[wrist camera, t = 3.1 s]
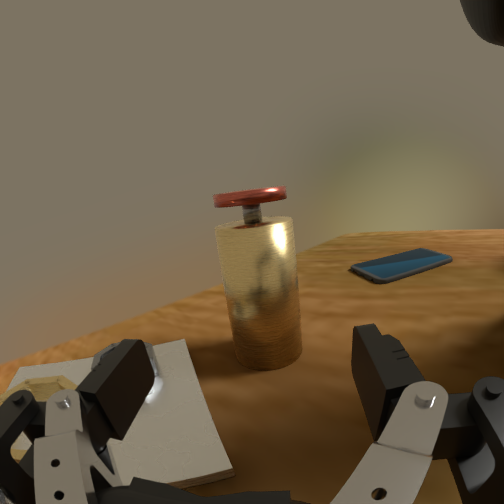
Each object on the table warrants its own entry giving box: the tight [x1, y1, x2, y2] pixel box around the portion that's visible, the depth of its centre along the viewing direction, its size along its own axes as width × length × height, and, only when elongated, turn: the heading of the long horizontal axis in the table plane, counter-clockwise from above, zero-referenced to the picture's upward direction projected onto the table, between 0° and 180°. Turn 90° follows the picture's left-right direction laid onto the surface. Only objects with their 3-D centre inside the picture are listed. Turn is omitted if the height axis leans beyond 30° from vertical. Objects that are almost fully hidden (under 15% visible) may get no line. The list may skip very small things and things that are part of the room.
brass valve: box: [213, 186, 302, 370], centre depth 20 cm, size 5×5×12 cm
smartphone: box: [351, 248, 452, 284], centre depth 35 cm, size 8×15×1 cm, turn 103°
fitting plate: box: [0, 339, 236, 489], centre depth 14 cm, size 17×14×2 cm
